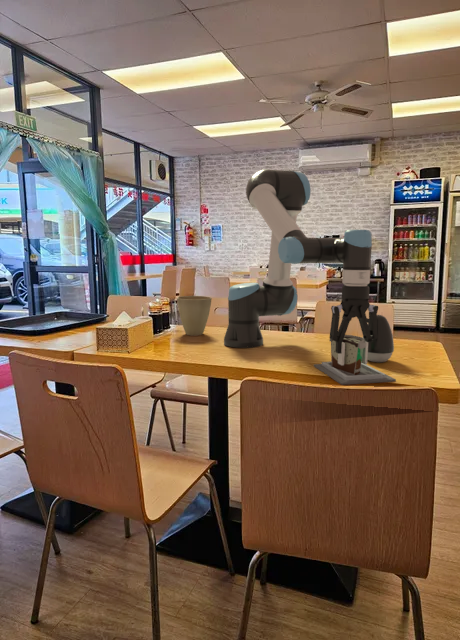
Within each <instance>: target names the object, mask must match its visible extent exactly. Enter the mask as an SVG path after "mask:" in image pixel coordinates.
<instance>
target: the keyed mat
mask: <svg viewBox="0 0 460 640" xmlns="http://www.w3.org/2000/svg"><path fill="white" fill-rule="evenodd" d="M313 367H314V368H315V369H317V370H319V371H320V372H322V373H323V372H324V373H323V374H325V375H326V374H327V375H326V376H328V377H329V378H331V379H332V380H334V381H335V382H337V383H338V384H339V385H341V386H342V385H343V386H344V385H359V384H375V383H391V382H392V383H395V382H396V381H397V380H396V378H394V377H392V376H390V375H388V374H387V373H384V372H383V371H380V370H378V369H376V368H374V367H372V366H370V365H368V364H363V363H361V368H360V373H359V374H358V375H352V374H349V373H346V372H343V371H339V370H337V369H336V368H334V367H332V364H331V361H321V363H315V364H313ZM394 381H395V382H394Z"/></svg>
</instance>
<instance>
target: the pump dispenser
mask: <svg viewBox="0 0 460 640" xmlns="http://www.w3.org/2000/svg"><path fill="white" fill-rule="evenodd" d="M366 320H367V324H368V327H369V317H367V319H366ZM392 331H393V330H392V328H391V325H390V322H389V321H388V319H387V318H386V317H385V316H384V315H382V314H377V336H378V337H377V339H374V340H373V342H371V347H370V352H368V358H367V361H369V362H372V363H385V362H387V361H389V360H390V358H392V356H393V353H394V351H395V350H394V349H395V343H394V336H393V332H392ZM362 338H364V337H363V336H362Z"/></svg>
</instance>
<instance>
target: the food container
mask: <svg viewBox="0 0 460 640" xmlns="http://www.w3.org/2000/svg"><path fill="white" fill-rule="evenodd" d="M329 342H330V353H331V355H330V357H331V361H330V362H331V364H332V367H334V368H336V369H337V370H339V371H343V372H346V373H349V374H352V375H358V374H359V373H360V368H361V361H362V354H363V348H365V347H366V343H365V340H364V338H363V336H362V337H361V336H359V335H351V334H345V336H344V339H343V342H344V343H345V357H344V365H340V364H338V353H336V342H335V341H333V340H331V339H330V338H329Z"/></svg>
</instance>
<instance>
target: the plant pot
mask: <svg viewBox="0 0 460 640" xmlns="http://www.w3.org/2000/svg"><path fill="white" fill-rule="evenodd" d="M176 301H177V307H178V308H177V309H178V312H179V313H178V314H179V316H180V317H179V318H180V321H181V325H182V327H183V330H184V333H185V335H187V336H194V337H195V336H202V335H203V334H204V332H205V329H206V326H207V323H208V319H209V315H210V311H211V305H212V297H211V296H203V295H188V296H187V295H186V296H183V295H182V296H177V297H176Z"/></svg>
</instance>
